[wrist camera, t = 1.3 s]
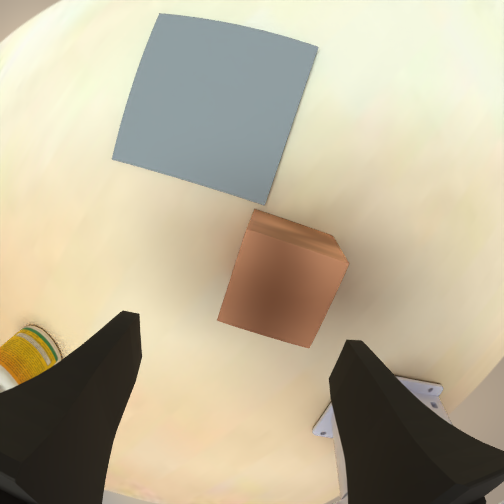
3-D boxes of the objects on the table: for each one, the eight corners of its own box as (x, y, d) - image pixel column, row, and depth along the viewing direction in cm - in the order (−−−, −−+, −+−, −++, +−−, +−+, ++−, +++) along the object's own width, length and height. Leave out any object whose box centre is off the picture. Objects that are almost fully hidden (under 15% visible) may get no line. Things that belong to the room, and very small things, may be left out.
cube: (332, 235, 19) (349, 263, 14) (303, 304, 21) (309, 348, 16) (254, 208, 19) (246, 228, 14) (230, 281, 21) (216, 320, 16)
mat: (317, 50, 15) (318, 46, 15) (265, 203, 19) (264, 205, 18) (162, 16, 15) (159, 13, 15) (116, 158, 18) (111, 159, 18)
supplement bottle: (65, 378, 25) (15, 441, 16) (26, 355, 25) (-27, 409, 16) (61, 337, 24) (-1, 402, 15) (20, 314, 24) (-44, 367, 14)
